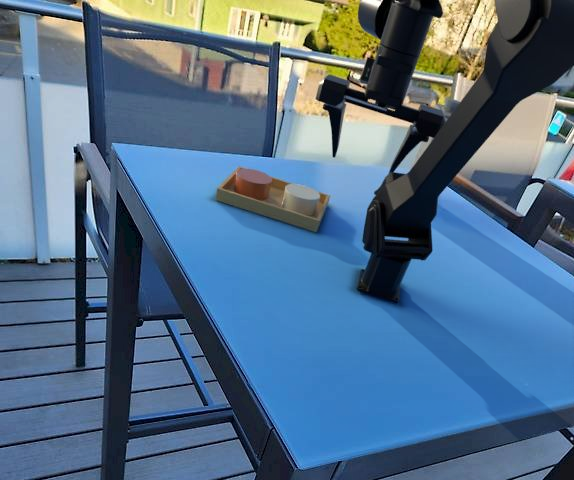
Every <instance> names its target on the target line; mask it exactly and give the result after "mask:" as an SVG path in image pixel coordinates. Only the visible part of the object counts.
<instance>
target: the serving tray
mask: <svg viewBox="0 0 574 480" xmlns="http://www.w3.org/2000/svg"><path fill="white" fill-rule="evenodd" d="M239 169H247V168H246V167H244V166H237V167H236V168H235V169H234V171H232V173H230V174H229V175H228V176H227V177H226V179H224V181H223V182H222V183H221V184H220V185H219V186H218V187H217V188H216V194H215V201H217V202H220V203H224V204H226V205H231V206H232V207H236V208H239V209H241V210H245V211H248V212H251V213H255V214H258V215H260V216H263V217H267V218H271V219H273V220H276V221H280V222H282V223H285V224H288V225H292V226H296V227H298V228H301V229H304V230H307V231H310V232H314V233H317V232H318V229H319V227H320V225H321V223H322V220H323V217H324V215H325V212H326V210H327V208H328V205H329V201H330V198H331V195H330V194H327V193H325V192H322V191H318V190H316V191H317V192H318V193H319V194H320V199H319V203H318V207H317V210H316V213H315V214H314V215H311V216H307V215H303V214H300V213H297V212H294V211H291V210H288V209H285V208H284V207H283V206H282V199H283V195H284V191H285V187H286V185H288V184H294V183H292V182H290V181H286V180H284V179H280V178H277V177H274V176H271V175H269V176H270V177H271V178H272V184H271V189H270V193H269V197H268V199H266V200H257V199H253V198H250V197H247V196H244V195H241V194H238V193H236V192H235V191H234V185H235V179H236V173H237V171H238V170H239Z"/></svg>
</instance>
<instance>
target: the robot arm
mask: <svg viewBox="0 0 574 480" xmlns="http://www.w3.org/2000/svg"><path fill="white" fill-rule="evenodd" d="M493 1H494V7H495V12H496V17H497V23H496V24H495V26H494V28H493V30H492V31H491V33H490V35H489V37H488V39H487V43H486V49H485V50H486V51H485V56H484V63H483V69H482V71H481V73H480V75H479V76H478V77H477V79H476V80H475V81H474V83H473V84H472V86H471V87H470V88H469V90H468V91H467V93H466V94H464V96H463V97H462V99H461V101H459V102H460V103H459V105H458V106H457V107H456V109H455V110H454V111H453V113H452V114H451V116H450V117H449V118H448V120H447V121H446V122H445V117H444V114H443V111H442V110H439V109H436V108H434V107H433V106H429V105H426V104H423V103H420V105H419V106H418V108H414V107H411V106H407V105H405V104H404V102H405V99H406V96H407V93H408V90H409V87H410V84H411V81H412V79H413V75H414V73H415V71H416V67H417V64H418V61H419V58H420V56H421V53H422V50H423V48H424V44H425V41H426V38H427V36H428V32H429V30H430V27H431V25H432V21H433V19H434V18H436V19H441V18H442V17H443V14H444V11H443V6H442V4H441V1H440V0H360V1H359V4H358V9H357V20H358V23H359V26H360V28H361V29H362V30H363V31H364V32H365V33H367V34H369V35H370V36H373V37H374V38H376V39H378V40H380V41H379V45H378V48H377V51H376V55H375V57H374V58H373V57H369V56H367V57H366V58H365V62H364V64H363V69H362V71H361V75H360V79H359V80H360V81H359V82H360V84H362V85H366V88H365V91H361V90H357V89H355V88H353V87H352V88H351V87H350V85H351V81H350V80H348V79H345V78H342V77H340V76H336V75H333V74H330V73H329V74H327V75H326V76H324V77H323V78H322V79H321V80H320V81H319V84H318V86H317V92H316V96H315V100H316V101H318V102H320V103H323V104H322V110H324V111H327V113H328V117H329V124H330V130H331V132H330V133H331V150H332V151H331V152H332V158H336V156H337V153H338V150H339V147H340V141H341V134H342V129H343V123H344V117H345V112H346V108H347V103H348V104H349V105H350V104H351V105H354V106H357V107H360V108H363V109H367V110H369V111H372V112H376V113H379V114H381V115H385V116H388V117H391V118H395V119H397V120H401V121H404V122H407V123H410V124H409V127H408V129H407V132H406V134H405V137H404V139H403V140H402V142H401V145H400V146H399V148H398V150H397V152H396V155H395V157H394V159H393V161H392V163H391V165H390V168H389V170H388V174H387V175H386V176H385V177H384V179H383V181H382V183H381V184H380V186H379V187H377V189H376V190H374V192H373V195H374V197H373V198H372V200H371V201H370V203H369V205H368V207H367V209H366V214H365V219H364V225H363V231H362V232H363V233H362V238H361V241H362V244H363V246H362V247H363V250H364V251H366V252H368V253H369V254H370V256H369V258H368V262H367V263H366V266H365V268H364V269H363V268H361V269H360V270H359V274H358V279H357V284H356V291H357V292H360V293H363V294H365V295H369V296H372V297H375V298H378V299H381V300H385V301H387V302H391V303H394V304H399V302H400V299H401V298H400V296H401V284H402V282H403V280H404V278H405V275H406V273H407V270H408V268H409V266H410V264H411V261H412V260H420V261H426V260H427V259H428V258H429V256H430V255H431V254H432V253H433V233H432V222H433V221H434V219H435V218H436V216H437V214H438V202H439V197H440V195H441V194H442V193H443V192H444V191H445V189H446V188H448V186H449V185H450V184H451V182H452V181H453V180H454V179H455V178H456V177H457V175H459V173H460V172H461V171H462V170H463V168H464V167H466V165H467V164H468V162H469V161H470V160H471V159H472V158H473V157H474V155H475V154H476V153H477V152H478V150H479V149H481V147H482V146H483V145H484V144H485V143H486V141H487V140H488V139H489V138H490V137H491V135H493V134H494V132H495V131H496V130H497V129H498V128H499V126H500V125H501V124H502V123H503V121H504V120H506V118H507V117H508V116H509V114H511V112H512V111H513V110H514V109H515V107H516V106H517V105H518V104H520V102H522V101H523V100H525V99H527V98H529V97H532V96H533V95H534V94H537V93H539V92H540V91H542V90H544V89H547V88H548V87H550V86H552V85H554V84H555V83H556V82H557V81H558V80H560V79H561V78H562V77H563V76H564V75H565V74H566V73H567V72H568V71H570V70H571V69H572V68H573V67H574V0H493ZM369 100H372V101H374V102H370V101H369ZM429 137H432V138H434V139H433V140H432V141H431V143H430V144H429V146H428V147H427V148H426V150H425V151H424V152H423V154H422V155H421V156H420V158H419V159H418V160H417V162H416V163H415V165H414V166H413V167H412V169H411V168H410V169H411V170H410V169H409V171H408V172H407V173H401V172H395V171H396V170H397V169H398V167H399V166H400V165H401V163H402V162H403V161H404V160H405V158H406V157H407V156H408V155H409V154H410V153H411V151H412V152H413V150H414V149H415V148H416V147H417V146H418V145H420V143H421V141H423V142H428V140H429ZM387 237H389V238H401V239H403V240H401V239H389V238H387ZM404 239H407V240H404Z"/></svg>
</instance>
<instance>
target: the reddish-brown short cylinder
mask: <svg viewBox="0 0 574 480" xmlns="http://www.w3.org/2000/svg"><path fill="white" fill-rule="evenodd" d="M270 176H271V175H269V174H267V173H266V172H263V171H260V170H258V169H253V168H246V169H239V170H238V171H237V173H236V179H235V185H234V191H235V192H236V193H238V194H241V195H244V196H247V197H250V198H253V199H257V200H266V199H268V197H269V193H270V189H271V184H272V178H271V177H272V176H271V177H270Z"/></svg>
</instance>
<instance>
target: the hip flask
mask: <svg viewBox="0 0 574 480" xmlns="http://www.w3.org/2000/svg"><path fill="white" fill-rule="evenodd" d="M460 102H461V101H459V100H457V99H455V98H451V97H444V99H443V104H441V103H435V105H434V107H433V108H436V109H439V110H442V111H443V114H444V117H445V122H446V121H447V120H448V118H449V117H450V116H451V114H452V113H453V111H454V110H455V109H456V107H457V106H458V105H459V103H460ZM433 139H434V138H432V137H429V140H428V142H423V141H421V142H420V143H419V146H418V148H417V150H416V154H415V156H414V159H413V161H412V164H411V166H410V169H409V171H410V170H411V169H412V167H413V166H414V165H415V163H416V162H417V160H418V159H419V158H420V156H421V155H422V154H423V152H424V151H425V150H426V148H427V147H428V146H429V144H430V143H431V141H432V140H433Z"/></svg>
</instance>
